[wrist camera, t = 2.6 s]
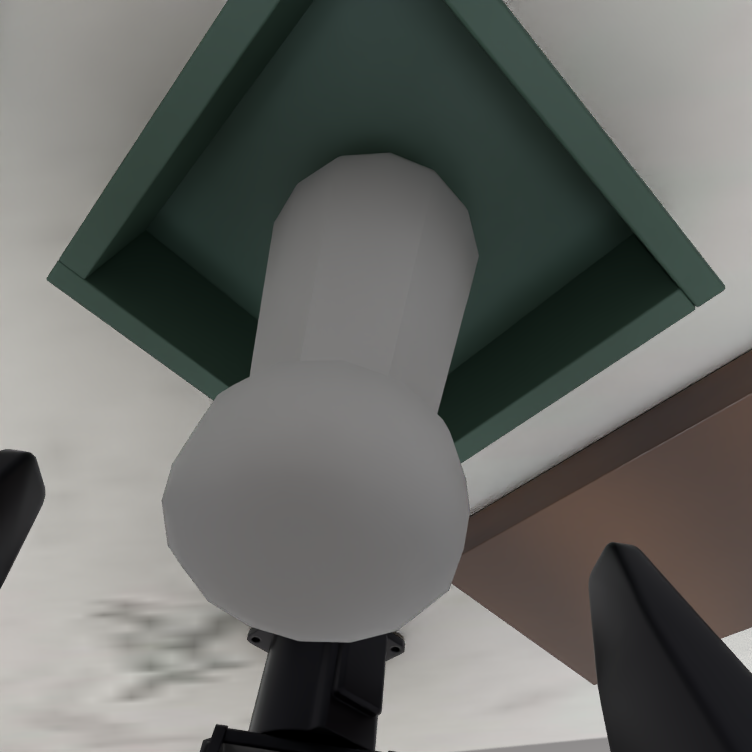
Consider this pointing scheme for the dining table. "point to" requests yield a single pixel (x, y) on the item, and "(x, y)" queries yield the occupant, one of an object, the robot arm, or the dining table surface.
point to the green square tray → (415, 143)
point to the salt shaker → (337, 416)
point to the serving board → (627, 520)
